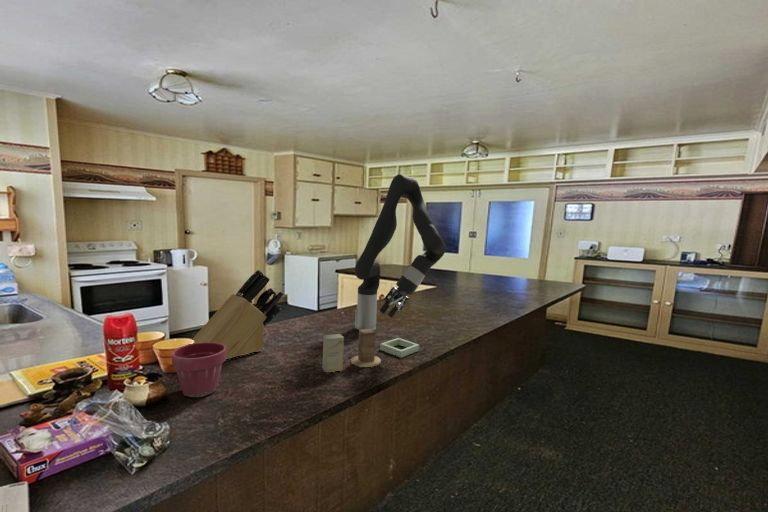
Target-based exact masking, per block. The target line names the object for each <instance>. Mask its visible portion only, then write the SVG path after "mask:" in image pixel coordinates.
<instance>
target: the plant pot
mask: <svg viewBox="0 0 768 512" xmlns="http://www.w3.org/2000/svg"><path fill="white" fill-rule="evenodd" d="M225 361H227V360H226V347H225V345H223V344H220V343H215V342H201V343H193V344H189V343H187V344H185V345H183V346H179V347H178V348H175V349H174V350H173V351H172V352H171V366H172V368H173V369H175V371H176V375H177V378H178V379H177V380H178V382H179V386H180V389H181V391H183V392H184V393H187V394H201V393H205V392H209V391H211V390H213V389H215V388H216V387H217V388H218V386H217V385H218V384H219V381H220V377H221V372H222V368H223V363H224V362H225ZM183 392H182V393H183Z"/></svg>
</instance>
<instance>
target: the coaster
mask: <svg viewBox="0 0 768 512" xmlns="http://www.w3.org/2000/svg"><path fill="white" fill-rule="evenodd" d="M381 362H382V360H381V358H380V357H379V356H376V355H374V361H373V362H367V363H362V362H361V361H360V360H359V359H358V355H355V356H352V357H351V359H350V363H351V365H353V364H354V365H356V366H355V367H357V366H359V367H358V368H362V367H371V368H375V367H374V366H376V367H378V366H380V365H381V364H382V363H381ZM379 364H380V365H379ZM354 365H353V366H354ZM377 365H378V366H377Z"/></svg>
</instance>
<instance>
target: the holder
mask: <svg viewBox="0 0 768 512" xmlns="http://www.w3.org/2000/svg"><path fill="white" fill-rule="evenodd" d="M379 345H380V346H379V350H380V351H383V352H385V353H387V354H390V355H393V356H395V355H396V356H395V357H398V358H401V359H402V358H404V357H406V356H409V355H411V354H414V353H416V352H420V344H418V343H415V342H413V341H410V340H407V339H403V338H400V337H397V338H393V339H391V340H388V341H384V342H382V343H380V344H379ZM396 346H401V347H403V349H400V348H397V347H396Z"/></svg>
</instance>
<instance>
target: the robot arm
mask: <svg viewBox="0 0 768 512" xmlns="http://www.w3.org/2000/svg"><path fill="white" fill-rule="evenodd" d="M421 190H422V189H421V188H420V185H419V183H418V181H417V179H415V178H414V177H411V176H408V175H406V174H402V173H401V174H400V173H399V174H396V175H395V176H394V177H393V179H392V180H391V182H390V185H389V188H388V190H387V194H386V196H385V198H384V199H385V200H384V203H383V206H382V208H381V210H380V212H379V215H378V218H377V220H376V222H375V224H374V226H373V229H372V232H371V234H370V237H369V238H368V240H367V243H366V246H365V247H364V249H363V251H362V253H361V255H360V257H359V258H358V260H357V262H356V264H355V267H354V274H355V276H356V278H357V279H359V280H363V281H362V283H361V284H360V285H358V287H357V303H356V305H357V306H356V308H355V311H354V315H355V316H354V329H355V330H358V331H359V330H363V329H371V330H373V331H376V330H377V329H376V328H377V308H378V307H377V306H378V290H379V288H380V281H381V279H380V278H381V266H380V263H379V262H378V260H377V257H378V256H379V255H380V253H381V252H382V251H383V250H384V249H385V248H386V247H387V245H388V244H389V243H391V242H390V241H391V240H392V238H393V237H394V234H395V231H396V230H397V226H398V224H397V223H398V222H397V220H398V219H397V207H398V204H399V202H400V199H401V198H402V199H407V200H408V202H409V203H410V204H411V206H412V221H413V223H414V225H415V228H416V230H417V232H418V233H419V236H420V239H421V242H422V243H423V246H424V247H425V252H424V253H423V254H418V255H417V256H416V257H415V258H414V259H413V261H412V262H411V264H410V265H409V266H408V267H407V268H406V269H405V270H404V272H403V273H402V275H401V276H400V278H399V279H398V280H397V282H396V283H395V285H396V286H397V288H396V287H395V286H392V287H391V289H390V290H389V291H388V292H387V294H386V295H385V297H384V298H383V300H384V304H383V305H382V306H381V307H380V309H379V312H380V313H382V314H386V312H388V309H390V306H391V305H393V306H392V308H391V309H390V311H389V312H388V313H387V316H388V317H390V318H391V319H392V318H394V317H395V315H396V314H397V312H399V311H402V310H403V309H404V307H405V306H406V304H407V302H408V301H409V300H410V297H409V296H413V294H414V293H415V292H416V291H417V289H418V287H419V286H420V285H421V283H422V282H423V280H424V279H425V276H427V274H428V272H429V271H430V270H431V268H432V267H434V265H436V263H438V261H440V260H441V258H442V257H443V256H444V255H445V253H446V251H447V246H446V244H445V241H444V240H443V238H442V237H441V235H440V233H439V231H438V230H437V228H436V225H435V222H434V221H433V219H432V217H431V216H430V213H429V212H428V209H427V207H426V203H425V201H424V198H423V195H422V191H421ZM408 295H409V296H408Z"/></svg>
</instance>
